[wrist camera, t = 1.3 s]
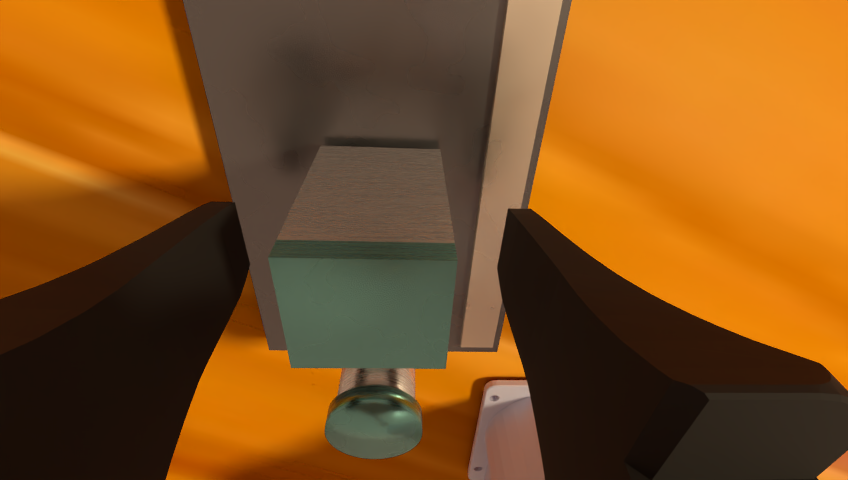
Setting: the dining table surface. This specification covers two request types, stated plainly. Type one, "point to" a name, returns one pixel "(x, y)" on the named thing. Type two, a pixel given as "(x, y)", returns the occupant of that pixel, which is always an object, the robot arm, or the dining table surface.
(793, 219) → the dining table surface
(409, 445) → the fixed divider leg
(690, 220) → the dining table surface
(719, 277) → the dining table surface
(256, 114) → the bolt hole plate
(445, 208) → the leg
